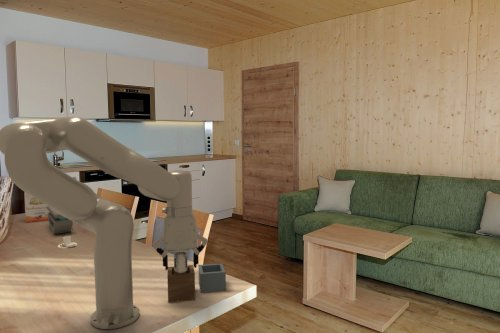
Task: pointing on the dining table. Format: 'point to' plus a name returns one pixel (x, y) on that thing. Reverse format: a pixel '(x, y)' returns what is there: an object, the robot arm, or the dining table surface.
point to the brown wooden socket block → (181, 285)
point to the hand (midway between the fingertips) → (180, 267)
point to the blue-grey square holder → (212, 277)
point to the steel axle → (180, 262)
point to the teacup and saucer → (67, 242)
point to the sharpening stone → (58, 222)
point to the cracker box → (35, 209)
